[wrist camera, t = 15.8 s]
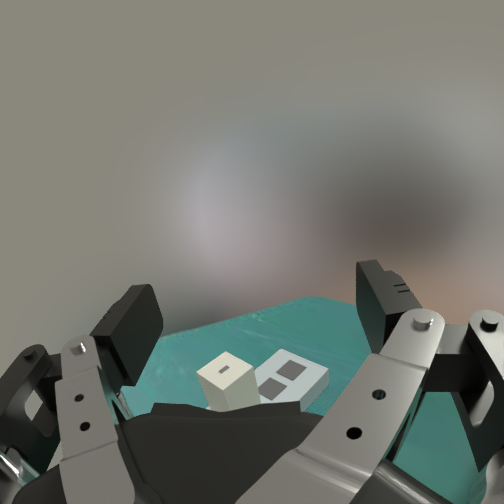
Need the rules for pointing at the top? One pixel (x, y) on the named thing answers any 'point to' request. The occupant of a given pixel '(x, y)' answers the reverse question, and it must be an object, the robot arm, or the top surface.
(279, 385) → the power strip
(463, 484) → the top surface
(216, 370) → the block
